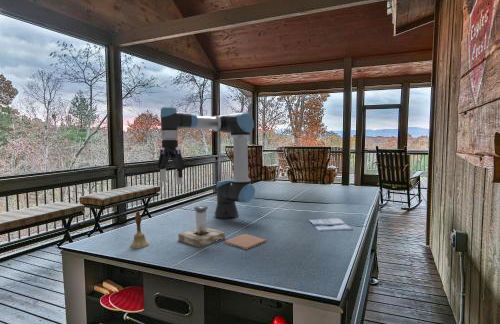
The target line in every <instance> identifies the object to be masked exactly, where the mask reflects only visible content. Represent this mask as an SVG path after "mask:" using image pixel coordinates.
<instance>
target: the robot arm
mask: <svg viewBox="0 0 500 324" xmlns="http://www.w3.org/2000/svg"><path fill="white" fill-rule="evenodd" d="M254 125H255V123H254V119H253V117H252V115H250V114H249V113H248V112H236V113H235V112H234V113H229V114H228V113H227V114H222V115H221V114H219V115H213V116H204V115H203V116H201V115H199V116H198V115H197V114H196V113H193V112H181V111H180V112H179V111H178V110H177V107H174V106H164V107H161V109H160V128H161V129H160V130H161V133H160V134H161V139H162V140H161V148H162V149H160V150H159V157H158V162H157V164H156V165H157V166H156V168H158V169H159V172H160V173H159V174H160V176H159V177H160V183H167V169H166V168H167V167H166V166H167V165H168V162H169V160H172V163H173V164H174V167H175V169H176V171H175V172H176V173H175V174H176V176H175V177H176V185H183V171H184V170H186V165H185V163H184V159H183V156H182V151H181V149H178V147H179V141H178V140H177V139H178V136H179V135H178V130H180V129H181V130H212V131H213V132H221V133H229V134H230V137H232V140H233V142H232V144H233V179H226V180H219V181H217V183H216V208H215V211H214V217H215V216H216V217H220V218H219V219H223V218H226V219H231V218H230V217H234V218H236V217H235V216H237V217H238V216H239V211H238V207H237V204H236V203H240V204H241V203H242V204H248V203H250V202H251V201H252V200H253V199H254V197H255V195H256V194H255V193H256V189H255V186H254V185H253V184H252V182H251V181H252V180H251V178H250V177H249V150H248V149H249V148H248V147H249V146H248V145H249V142H248V141H249V140H248V138H249V137H250V136H251V132H252V131H253V129H254V127H255V126H254ZM216 217H215V218H216Z"/></svg>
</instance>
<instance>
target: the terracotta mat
mask: <svg viewBox="0 0 500 324" xmlns="http://www.w3.org/2000/svg"><path fill="white" fill-rule="evenodd" d="M263 242H264V243H266V242H267V239H266V238H262V237H258V236H254V235H252V234H246V233H243V234H240V235H237V236H235V237H232V238H230V239H226V240H224V242H223V243H224V244H226V243H228V244H227V245H229V244H232V245H235V246H234V247H236V246H238V247H237V248H239V247H241V248H240V249H242V248H244V249H243V250H245V249H247V250H249V249H248V248H250V247H252V248H254V247H256V245H257V246H259V245H260V243H261V244H264V243H263ZM258 244H259V245H258ZM232 245H231V246H232ZM253 246H254V247H253ZM250 249H251V248H250Z"/></svg>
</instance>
